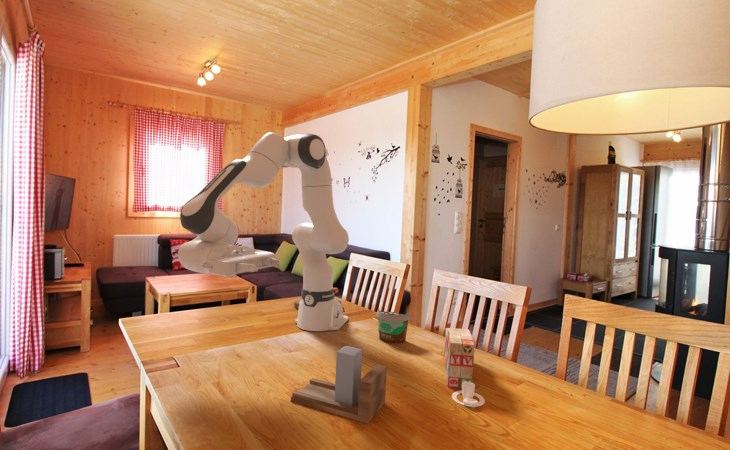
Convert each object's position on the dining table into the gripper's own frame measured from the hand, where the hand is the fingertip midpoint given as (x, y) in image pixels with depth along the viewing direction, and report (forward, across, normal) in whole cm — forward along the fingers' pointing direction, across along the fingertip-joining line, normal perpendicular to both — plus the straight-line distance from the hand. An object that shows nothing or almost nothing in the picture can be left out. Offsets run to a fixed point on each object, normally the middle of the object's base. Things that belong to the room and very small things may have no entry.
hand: (268, 265), depth 104 cm
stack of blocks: (+45, +30, +30) cm, 62 cm away
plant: (-23, +66, +30) cm, 76 cm away
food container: (+19, +43, +30) cm, 56 cm away
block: (+26, -2, +29) cm, 39 cm away
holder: (+23, -2, +30) cm, 38 cm away
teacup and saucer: (+48, +13, +31) cm, 59 cm away
